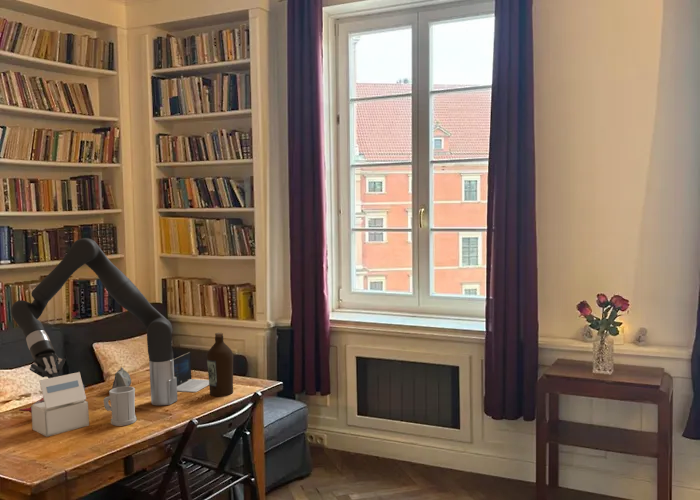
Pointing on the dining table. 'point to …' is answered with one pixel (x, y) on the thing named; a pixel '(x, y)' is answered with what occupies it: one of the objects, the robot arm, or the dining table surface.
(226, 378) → the brown bottle
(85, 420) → the carton
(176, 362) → the laptop
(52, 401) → the flap
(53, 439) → the dining table surface
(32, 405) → the decorative bird figurine
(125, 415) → the cup
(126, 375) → the mineral rock
